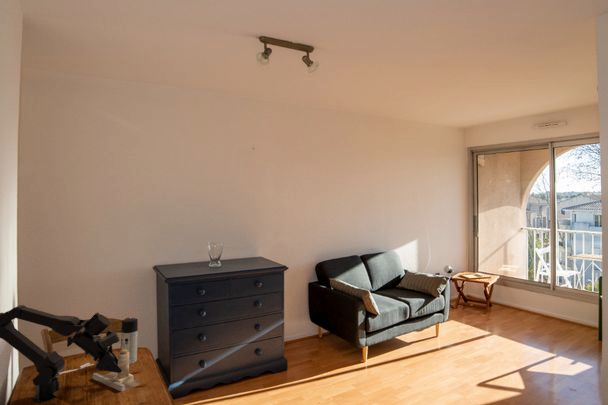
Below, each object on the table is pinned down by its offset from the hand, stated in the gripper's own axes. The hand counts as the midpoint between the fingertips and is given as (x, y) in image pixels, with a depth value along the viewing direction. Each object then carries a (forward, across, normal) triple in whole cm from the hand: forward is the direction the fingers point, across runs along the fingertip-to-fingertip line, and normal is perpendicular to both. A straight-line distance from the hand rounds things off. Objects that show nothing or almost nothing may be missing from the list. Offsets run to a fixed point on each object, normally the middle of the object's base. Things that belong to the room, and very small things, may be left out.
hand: (120, 367), depth 152 cm
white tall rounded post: (+5, 0, +3) cm, 6 cm away
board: (+5, +3, +6) cm, 8 cm away
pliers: (-5, +24, +17) cm, 30 cm away
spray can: (+9, +23, +2) cm, 25 cm away
